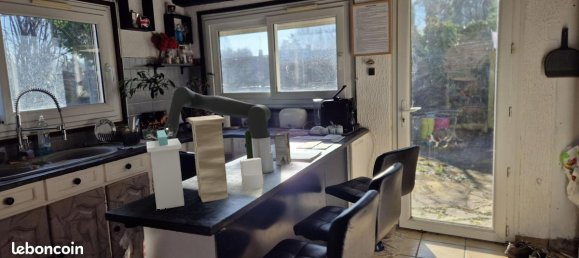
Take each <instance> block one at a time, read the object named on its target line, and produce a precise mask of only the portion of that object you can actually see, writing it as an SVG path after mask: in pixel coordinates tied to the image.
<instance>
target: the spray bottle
mask: <svg viewBox="0 0 579 258" xmlns="http://www.w3.org/2000/svg"><path fill="white" fill-rule="evenodd" d="M246 118H247V117H246ZM246 125H247V127H248V129H246V130H245V131H244V137H245V139H244V140H245V149H246V151H245V152H246V159H252V158H253V149H252V137H251V133H250V130H249V122H248V118H247V119H246Z"/></svg>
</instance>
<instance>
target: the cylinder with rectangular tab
mask: <svg viewBox="0 0 579 258" xmlns="http://www.w3.org/2000/svg"><path fill="white" fill-rule="evenodd" d="M239 163H240V175H241V186H242V189H243V190H258V189H261V188H263V186H264V181H263V178H264V177H263V173H262V165H261V158H252V159H247V158H246V159H240V160H239Z"/></svg>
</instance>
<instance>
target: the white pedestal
mask: <svg viewBox="0 0 579 258" xmlns="http://www.w3.org/2000/svg"><path fill="white" fill-rule="evenodd" d="M182 148H183V147H182V143H181V142H180V140H179V138H175V139H168V145H161V146H160V145H159V142H158V141H152V140H151V141H146V151H147V153H149V155H150V154H151V156H150V162H151V170H152V171H151V172H152V178H153V186H154V187H153V188H154V189H153V190H154V197H155V204H156V210H157V209H160V210H164V209H165V208H166V209H171V208H178V207H182V206H185V199H184V190H183V180H182V171H181V159H180V153H179V150H180V149H182Z"/></svg>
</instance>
